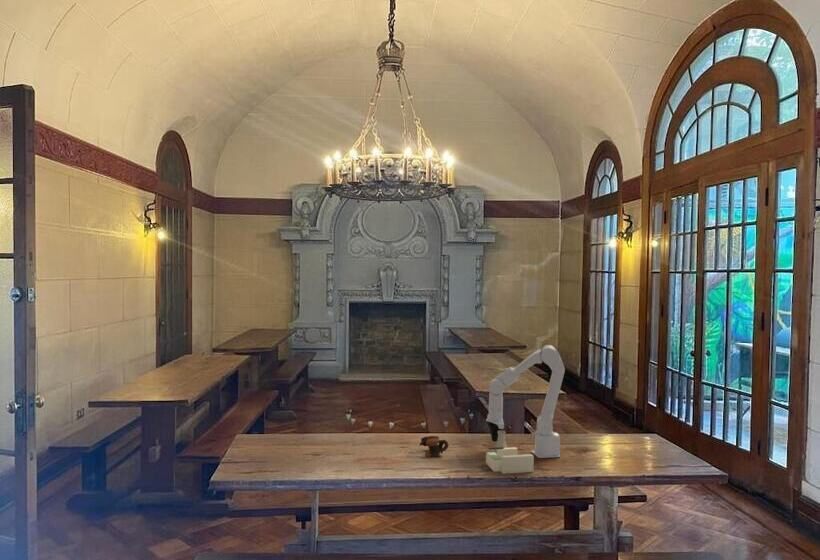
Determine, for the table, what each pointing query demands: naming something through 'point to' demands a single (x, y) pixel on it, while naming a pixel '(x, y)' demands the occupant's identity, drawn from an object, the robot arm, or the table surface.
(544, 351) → the robot arm
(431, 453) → the pottery mug
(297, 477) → the table surface
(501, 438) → the grey vase
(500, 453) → the pad
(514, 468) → the gauge frame
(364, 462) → the table surface
